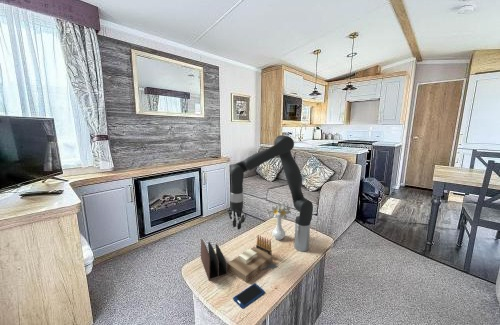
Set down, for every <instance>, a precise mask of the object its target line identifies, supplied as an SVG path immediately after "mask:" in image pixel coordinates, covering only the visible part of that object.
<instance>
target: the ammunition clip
mask: <svg viewBox="0 0 500 325" xmlns="http://www.w3.org/2000/svg"><path fill="white" fill-rule="evenodd" d="M255 247H256V248H258V249H260V250H262V251H264V252H266V253H268V254H269V255H271V256H272V257H273V255H272V254H273V253H272V252H273V251H272V240H271V239H269V238H266V237H264V236H261V235H260V236H259V234H257V239H256V246H255Z"/></svg>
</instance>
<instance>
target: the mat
mask: <svg viewBox="0 0 500 325" xmlns="http://www.w3.org/2000/svg"><path fill="white" fill-rule="evenodd" d="M278 268H279V266H277V265H276V264H274V263H273V262H272V263H270V264H269V265H268V266H266V267H265V268H264V269H263V270H262V271H265V270H268V269H273V270H274V269H278Z"/></svg>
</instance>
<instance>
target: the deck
mask: <svg viewBox="0 0 500 325" xmlns="http://www.w3.org/2000/svg"><path fill="white" fill-rule="evenodd" d="M250 249H251V250H253V251H255V252H257V257H256V258H254V259H253V260H252V261H250V262H249V263H247V264H245V263H244V262H242V261H240V260H239V255H238V256H236V257H235V258H234V259H232V260H230V261H229V262H226V263H227V271H228V272H230V273H231V274H233V275H235V276H236V277H237V278H239V279H240V280H242V281H243V282H244V283H247V282H248V281H250V280H251V279H252V278H254V277H255V276H256V275H257V274H259V273H260V272H261V271H264V270H263V269H264V268H265V267H266V266H268V265H269V264H270V263H272V264H273V255H272V256H271V255H269V254H268V253H266V252H264V251H262V250H260V249H258V248H256V246H253V247H251V248H250Z"/></svg>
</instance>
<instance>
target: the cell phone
mask: <svg viewBox="0 0 500 325" xmlns="http://www.w3.org/2000/svg"><path fill="white" fill-rule="evenodd" d="M265 293H266V292H265V290H264V289H263V288H262V287H261V286H259V285H258V284H257V283H253V284H251V285H250V286H248V287H246V288H245V289H244V290H242V291H241V292H239V293H237V294H236V295H235V296H233V297H232V299H233V301H234V302H235V303H236V304H237V305H238V306H239V307H240V308H241V309H245V308H246V307H248V306H249V305H251V304H252V303H253V302H254V301H257V300H258V299H259V298H260V297H262V296H263V295H264V294H265Z"/></svg>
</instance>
